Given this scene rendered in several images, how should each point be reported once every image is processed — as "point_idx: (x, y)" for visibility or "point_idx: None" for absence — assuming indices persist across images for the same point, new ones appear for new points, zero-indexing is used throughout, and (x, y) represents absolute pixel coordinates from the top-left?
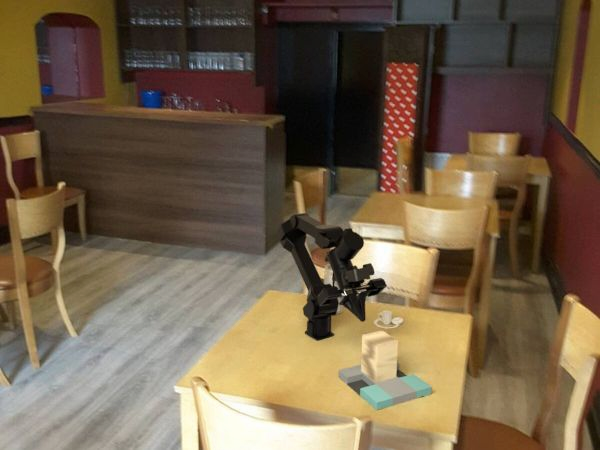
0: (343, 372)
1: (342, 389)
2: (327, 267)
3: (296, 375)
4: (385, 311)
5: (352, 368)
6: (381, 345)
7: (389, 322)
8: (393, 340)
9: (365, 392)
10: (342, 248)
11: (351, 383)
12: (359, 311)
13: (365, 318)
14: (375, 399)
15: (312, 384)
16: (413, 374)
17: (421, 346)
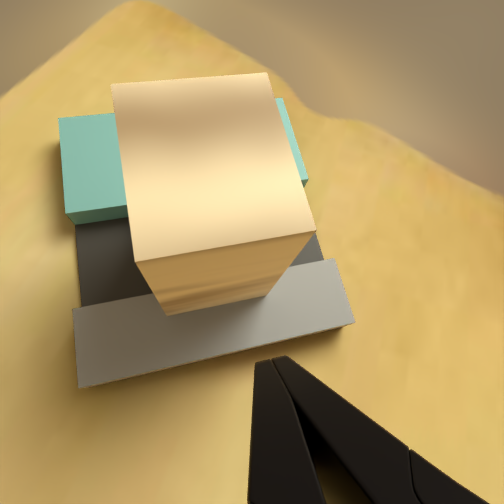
0: (340, 298)
1: (346, 243)
2: None
3: (494, 381)
4: None
5: (295, 322)
6: (240, 77)
7: None
8: (137, 97)
9: (299, 152)
10: None
11: (310, 262)
12: (349, 419)
13: (257, 367)
14: (280, 112)
15: (440, 300)
16: (68, 210)
17: None
